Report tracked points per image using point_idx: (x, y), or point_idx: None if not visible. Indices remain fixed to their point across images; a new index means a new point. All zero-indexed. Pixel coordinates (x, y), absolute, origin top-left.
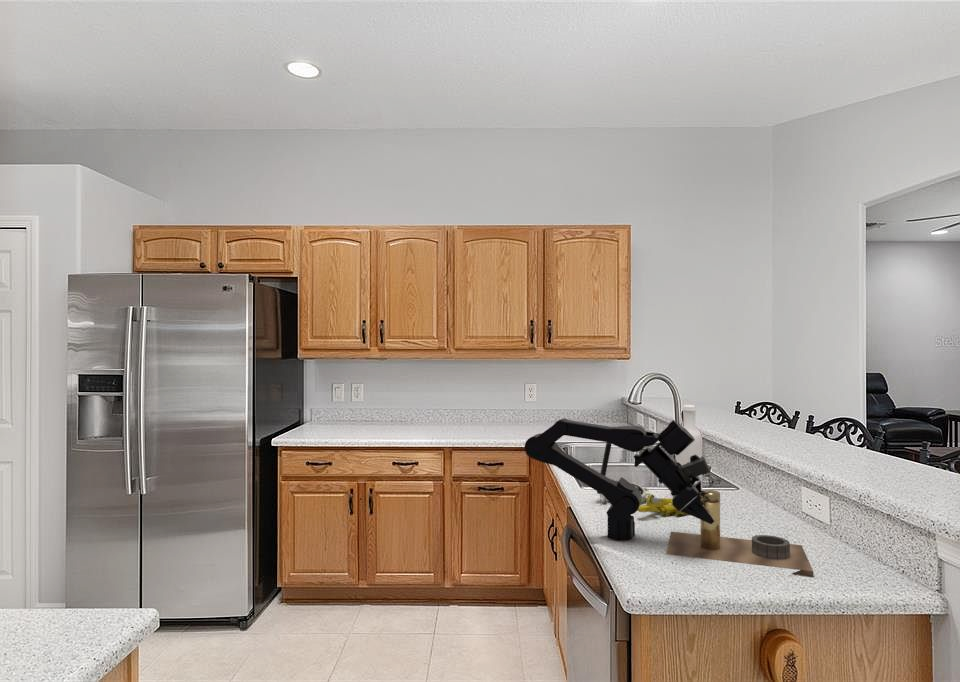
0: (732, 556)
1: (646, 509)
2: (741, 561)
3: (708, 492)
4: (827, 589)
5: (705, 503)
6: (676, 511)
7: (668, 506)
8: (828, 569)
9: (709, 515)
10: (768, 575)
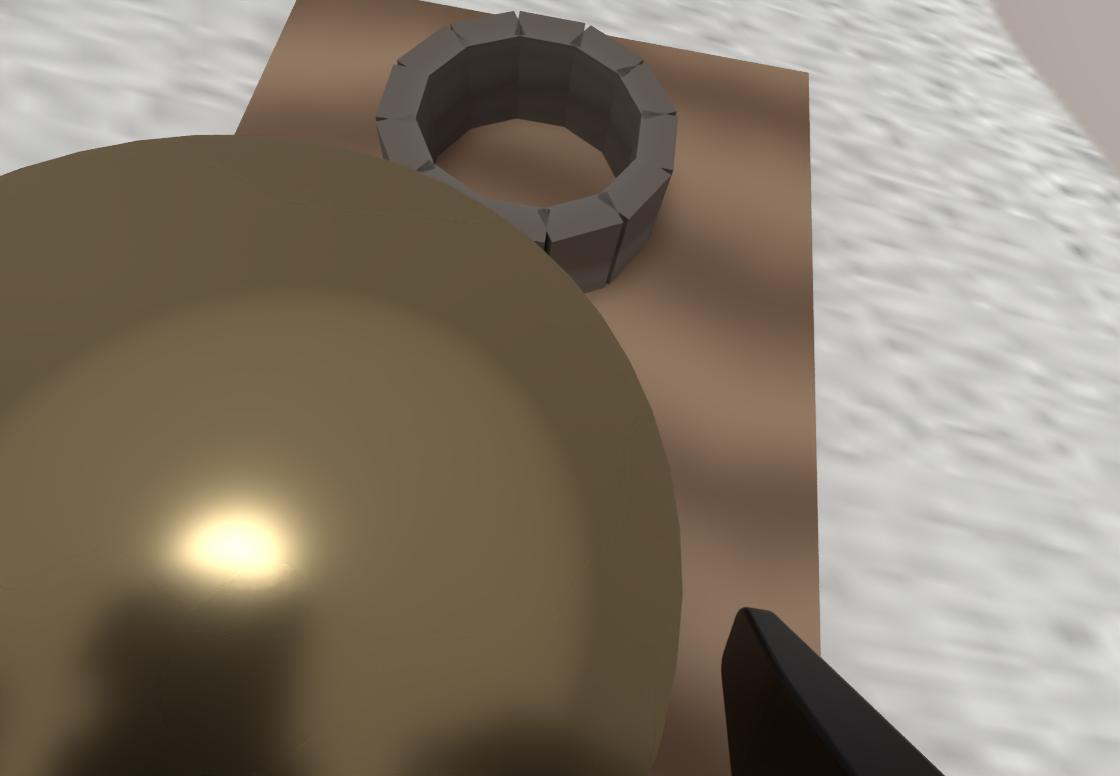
0: (679, 481)
1: None
2: (784, 434)
3: (244, 648)
4: (953, 100)
5: None
6: None
7: None
8: (641, 3)
9: (874, 711)
10: (867, 314)
